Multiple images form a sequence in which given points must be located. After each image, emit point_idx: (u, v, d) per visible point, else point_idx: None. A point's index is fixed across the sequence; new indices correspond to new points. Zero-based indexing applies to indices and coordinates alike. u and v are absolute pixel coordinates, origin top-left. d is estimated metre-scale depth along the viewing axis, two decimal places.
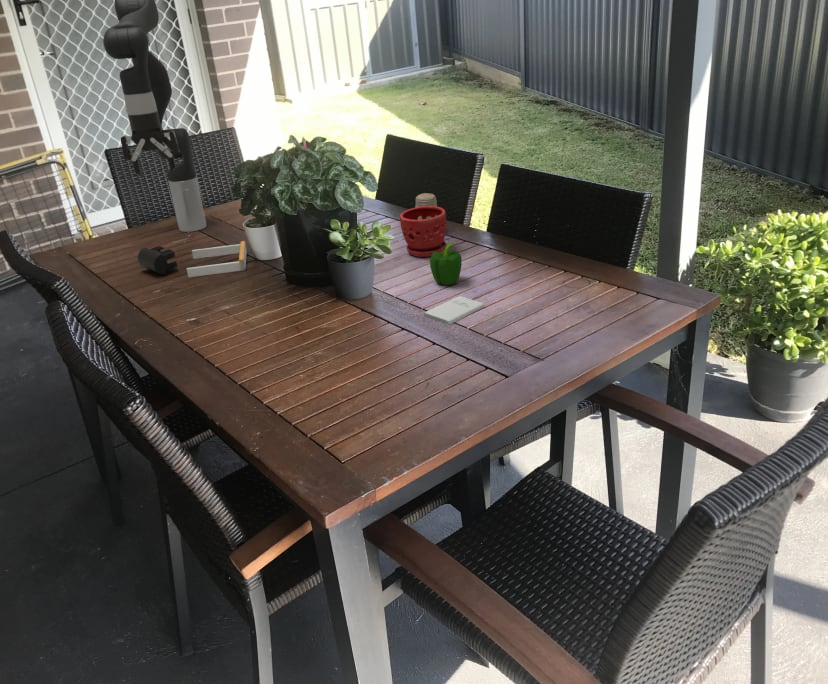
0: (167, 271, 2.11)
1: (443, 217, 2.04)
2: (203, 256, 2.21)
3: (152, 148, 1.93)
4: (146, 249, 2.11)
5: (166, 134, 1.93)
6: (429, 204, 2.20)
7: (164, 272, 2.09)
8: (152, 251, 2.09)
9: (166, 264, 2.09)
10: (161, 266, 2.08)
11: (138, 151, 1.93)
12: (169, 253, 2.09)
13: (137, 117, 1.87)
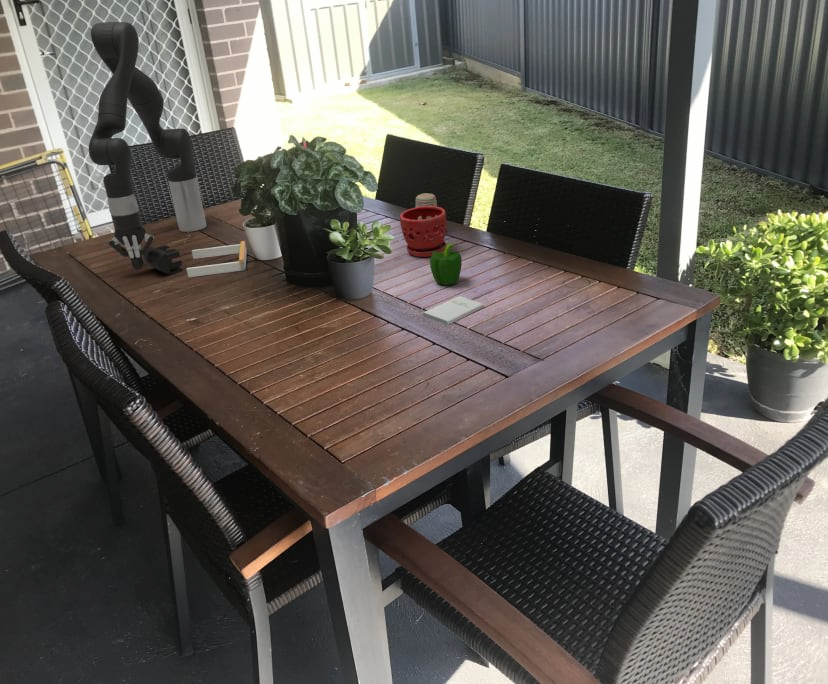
0: (172, 270, 2.11)
1: (443, 217, 2.04)
2: (203, 256, 2.21)
3: None
4: (151, 248, 2.12)
5: (146, 235, 2.08)
6: (429, 204, 2.20)
7: (168, 272, 2.09)
8: (157, 250, 2.09)
9: (170, 263, 2.09)
10: (165, 265, 2.08)
11: (129, 248, 2.07)
12: (174, 252, 2.09)
13: (119, 218, 2.01)
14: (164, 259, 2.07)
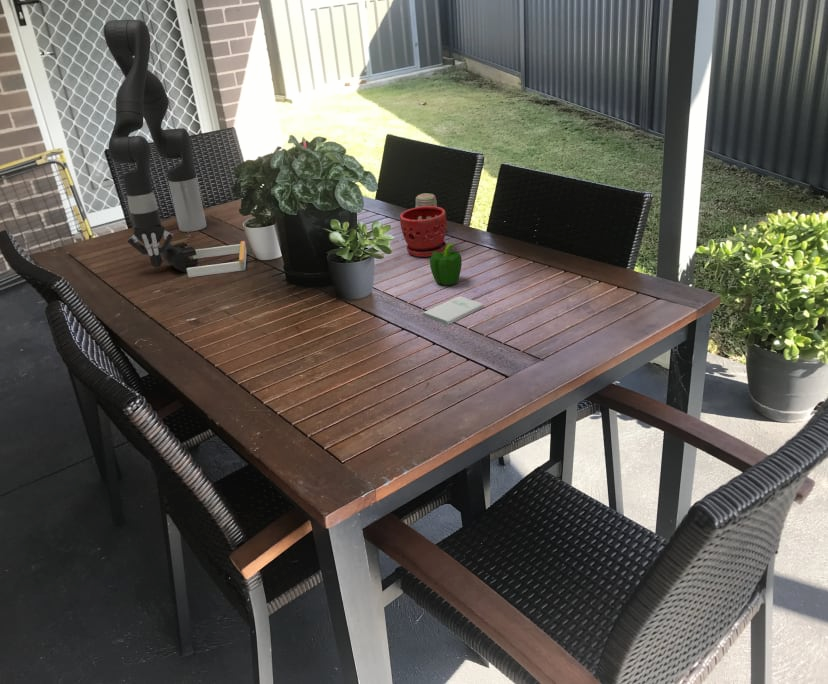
0: None
1: (443, 217, 2.04)
2: (203, 256, 2.21)
3: None
4: (169, 245, 2.13)
5: (165, 233, 2.08)
6: (429, 204, 2.20)
7: (184, 269, 2.10)
8: (174, 248, 2.10)
9: (186, 261, 2.10)
10: (181, 263, 2.08)
11: (148, 245, 2.08)
12: (190, 250, 2.10)
13: (139, 216, 2.02)
14: (180, 257, 2.08)
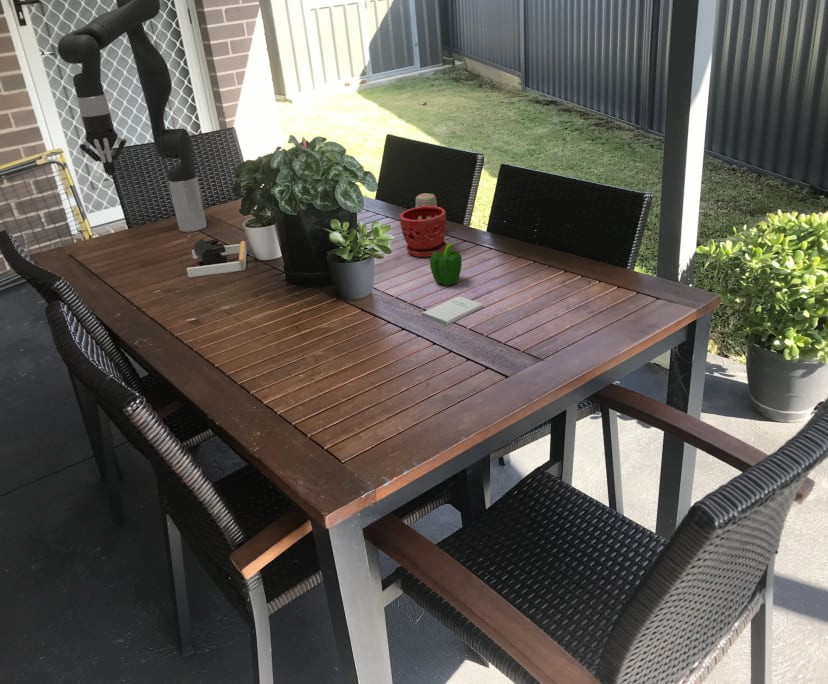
0: None
1: (443, 217, 2.04)
2: None
3: None
4: (201, 241, 2.15)
5: (118, 139, 2.06)
6: (429, 204, 2.20)
7: None
8: (205, 244, 2.12)
9: (215, 258, 2.11)
10: (210, 259, 2.10)
11: (100, 151, 2.05)
12: (219, 247, 2.11)
13: (90, 119, 1.99)
14: (208, 253, 2.09)
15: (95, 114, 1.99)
